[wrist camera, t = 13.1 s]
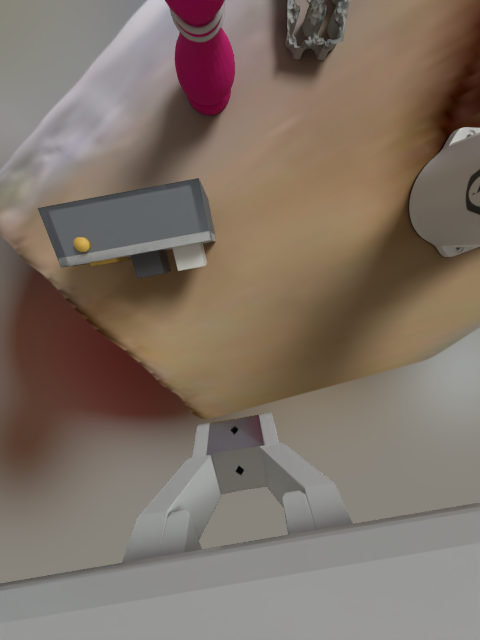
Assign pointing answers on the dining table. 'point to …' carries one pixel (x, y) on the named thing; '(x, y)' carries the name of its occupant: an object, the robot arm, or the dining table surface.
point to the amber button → (109, 261)
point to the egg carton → (316, 27)
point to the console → (129, 223)
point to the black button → (151, 263)
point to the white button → (190, 256)
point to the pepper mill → (203, 53)
